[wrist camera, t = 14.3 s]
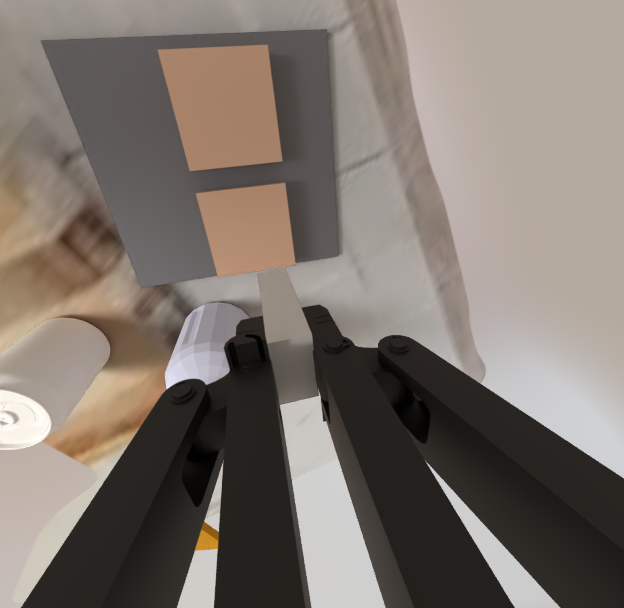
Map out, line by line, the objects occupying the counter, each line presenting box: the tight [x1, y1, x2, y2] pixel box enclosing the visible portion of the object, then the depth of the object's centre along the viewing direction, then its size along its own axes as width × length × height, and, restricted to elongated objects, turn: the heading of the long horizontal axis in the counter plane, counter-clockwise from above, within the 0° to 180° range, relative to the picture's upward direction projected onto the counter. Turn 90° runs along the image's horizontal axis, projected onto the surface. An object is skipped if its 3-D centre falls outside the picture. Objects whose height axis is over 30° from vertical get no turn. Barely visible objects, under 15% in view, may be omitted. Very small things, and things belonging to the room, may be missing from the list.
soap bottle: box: [165, 302, 249, 550], centre depth 27 cm, size 9×9×25 cm
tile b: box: [196, 182, 296, 277], centre depth 32 cm, size 2×9×9 cm
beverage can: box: [0, 318, 110, 450], centre depth 30 cm, size 8×8×12 cm
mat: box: [41, 29, 339, 288], centre depth 30 cm, size 24×22×1 cm
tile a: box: [158, 45, 282, 171], centre depth 27 cm, size 2×9×9 cm
